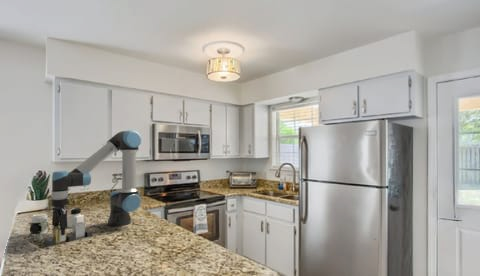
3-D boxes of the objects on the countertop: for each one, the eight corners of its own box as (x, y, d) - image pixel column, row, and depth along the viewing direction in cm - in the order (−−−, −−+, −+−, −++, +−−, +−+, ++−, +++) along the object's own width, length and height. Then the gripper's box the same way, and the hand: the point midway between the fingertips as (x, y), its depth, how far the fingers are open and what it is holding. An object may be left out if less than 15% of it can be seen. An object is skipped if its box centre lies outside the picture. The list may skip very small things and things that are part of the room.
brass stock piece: (62, 239, 158) (62, 225, 158) (65, 241, 155) (66, 227, 155) (52, 242, 154) (52, 227, 154) (55, 243, 151) (56, 229, 151)
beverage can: (39, 236, 166) (39, 216, 166) (27, 236, 167) (28, 216, 168) (50, 232, 174) (51, 213, 174) (40, 232, 175) (40, 213, 176)
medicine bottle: (83, 225, 191) (84, 207, 192) (76, 227, 184) (76, 209, 185) (74, 224, 192) (74, 207, 192) (66, 227, 185) (67, 209, 185)
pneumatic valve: (29, 243, 153) (29, 221, 154) (38, 237, 164) (38, 217, 165) (40, 242, 155) (40, 221, 155) (48, 236, 166) (49, 216, 166)
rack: (85, 233, 170) (85, 229, 170) (92, 236, 164) (92, 231, 165) (43, 243, 152) (43, 238, 153) (50, 247, 147) (50, 241, 147)
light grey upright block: (81, 235, 166) (81, 221, 166) (84, 236, 163) (84, 223, 163) (72, 237, 162) (72, 223, 162) (75, 239, 159) (75, 224, 159)
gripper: (45, 197, 159) (44, 238, 158) (59, 201, 146) (58, 245, 145) (60, 196, 165) (59, 234, 164) (74, 199, 152) (74, 241, 151)
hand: (59, 239), depth 155 cm, fingers open, 7 cm apart
